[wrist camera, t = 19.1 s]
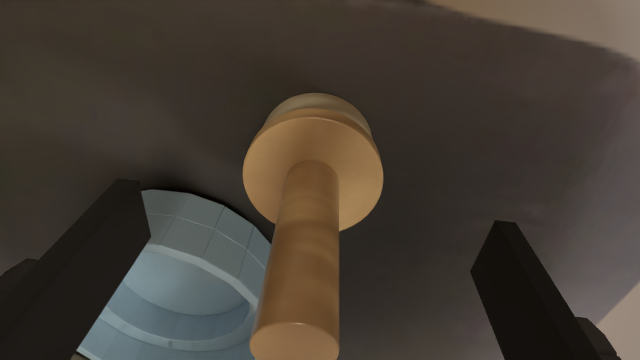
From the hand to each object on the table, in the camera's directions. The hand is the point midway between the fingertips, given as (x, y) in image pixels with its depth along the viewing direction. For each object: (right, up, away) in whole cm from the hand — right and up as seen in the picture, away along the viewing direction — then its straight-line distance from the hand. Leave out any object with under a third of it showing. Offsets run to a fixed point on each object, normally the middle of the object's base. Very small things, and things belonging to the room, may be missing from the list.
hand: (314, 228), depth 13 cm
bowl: (-9, -4, +11) cm, 15 cm away
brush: (0, +4, +6) cm, 7 cm away
